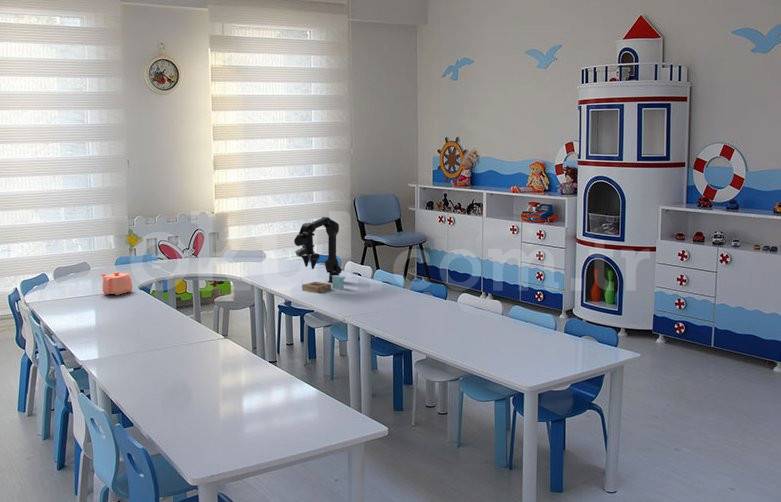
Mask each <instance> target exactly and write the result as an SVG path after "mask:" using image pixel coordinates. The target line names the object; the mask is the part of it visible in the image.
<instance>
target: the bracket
mask: <svg viewBox="0 0 781 502" xmlns="http://www.w3.org/2000/svg"><path fill="white" fill-rule="evenodd" d="M345 279H346V276H341V275H339V276H337V275H334V276H332V282H331V289H334V290H335V289H336V290H339V291H341V290H344V286H345V285H344V280H345Z"/></svg>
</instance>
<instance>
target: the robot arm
mask: <svg viewBox="0 0 781 502" xmlns="http://www.w3.org/2000/svg"><path fill="white" fill-rule="evenodd" d="M322 226H323V227H324V228H325V232H326V233H327V236H328V247H327V248H328V249H327V250H328V252H327V253H328V255H327V259H326V260H324V263H325V264H324V267H325V270H326V273H329V275H328V280H327V283H332V276H334V275H337V276H340V274H341V273H342V271H343V269H342V268H341V266H339V265H340V264H339V261H338V258H337V235H338V233H339V231H340V225H339V223H338V222H336V221H335V220H333V219H331V218H330V217H329V216H323V217H321V218H319V219H316V220H315V221H312V222H305V223H302V224H301V227H300V228H299V233H298V234H297V235H296V237H295V238H294V240H293V241H294V242H293V243H294V245H295V246H297V247H301V248H298V249H297V250H295V252H294V253H295V254H296V257H299V258H302V260H303V263H304V266H305V267H306V268H307V267H308V266H309V262H310V266H311V270H314V269H315V267H316V264H317V263H318V260H319V259H321V257H320V254H319V253H317V252H315V251H314V248H315V245H314V236H315V235H316V234H315V233H314V232H315V231H316V229H318V228H321V227H322Z"/></svg>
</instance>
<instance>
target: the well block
mask: <svg viewBox="0 0 781 502" xmlns="http://www.w3.org/2000/svg"><path fill="white" fill-rule="evenodd" d="M331 290H332V283H328V282H327V283H326V282H321V281H313V282H308V283H304V284H301V291H304V292H305V291H306V292H309V293H313V294H314V293H315V294H320V293H324V292H327V291H331Z"/></svg>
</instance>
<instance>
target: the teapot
mask: <svg viewBox="0 0 781 502" xmlns="http://www.w3.org/2000/svg"><path fill="white" fill-rule="evenodd" d="M99 274H100V275H101V276H102V294H103V295H109V294H115V295H114V296H120V295H119V294H121V295H123V293H124V294H128V293H130V292H131V291H133V281H132V278H131V277H132V276H131V274H130V273H123V272H120V271H114V272H113V273H111V274H107V275H106V273H103V272H100V273H99ZM127 292H128V293H127Z"/></svg>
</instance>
